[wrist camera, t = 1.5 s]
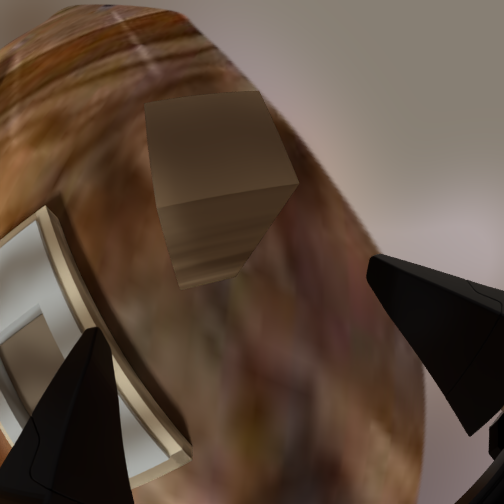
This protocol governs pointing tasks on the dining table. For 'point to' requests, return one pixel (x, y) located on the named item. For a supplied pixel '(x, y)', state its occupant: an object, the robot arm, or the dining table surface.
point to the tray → (117, 355)
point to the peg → (215, 180)
